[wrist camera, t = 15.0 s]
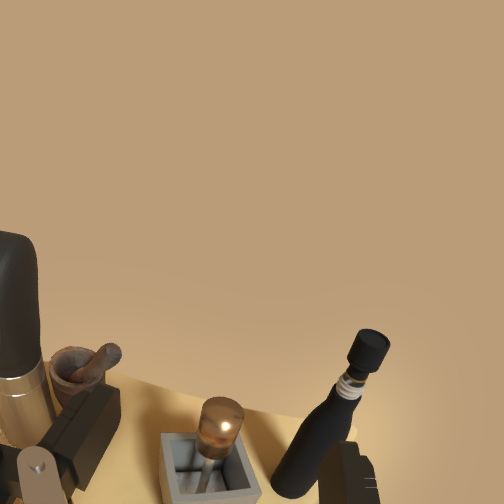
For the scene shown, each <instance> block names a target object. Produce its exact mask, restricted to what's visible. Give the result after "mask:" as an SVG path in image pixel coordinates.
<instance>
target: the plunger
mask: <svg viewBox="0 0 504 504" xmlns="http://www.w3.org/2000/svg"><path fill="white" fill-rule="evenodd" d="M243 419H244V410H243V408H242V407H241V406H240V405H239V404H238V403H237V402H236V401H234V400H232V399H229V398H226V397H213V398H210V399H208V400H207V401H206V402H205V403H204V404H203V407H202V411H201V416H200V421H199V426H198V431H197V436H196V441H195V447H196V449H197V451H198V452H199V453H200V454H201V455H202V456H203V457H205V459H204V463H203V467H202V471H198V472H176V477H177V482H178V487H179V492H180V495H181V494H200V493H212V492H223V491H227V490H226V487H225V484H224V481H223V477H222V474H221V471H220V470H213V471H212V469H213V466H214V463H215V460H222V459H225V458H227V457H228V456H229V455H230V454H231V452H232V450H233V447H234V444H235V441H236V439H237V436H238V433H239V430H240V427H241V425H242V422H243Z"/></svg>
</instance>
